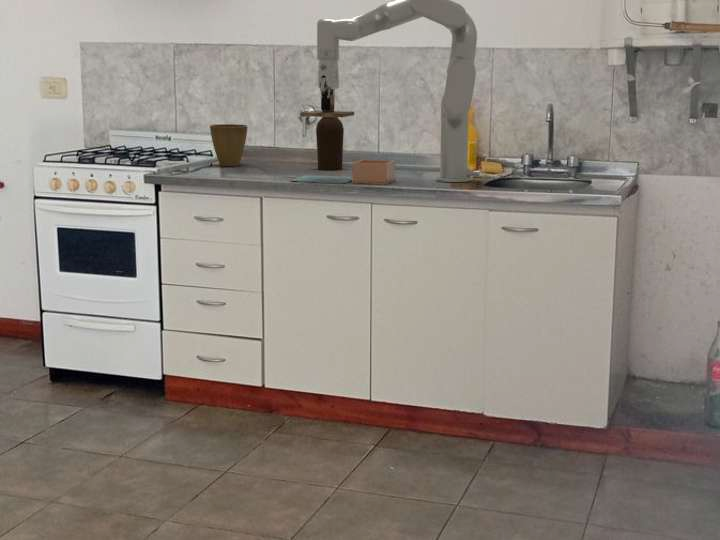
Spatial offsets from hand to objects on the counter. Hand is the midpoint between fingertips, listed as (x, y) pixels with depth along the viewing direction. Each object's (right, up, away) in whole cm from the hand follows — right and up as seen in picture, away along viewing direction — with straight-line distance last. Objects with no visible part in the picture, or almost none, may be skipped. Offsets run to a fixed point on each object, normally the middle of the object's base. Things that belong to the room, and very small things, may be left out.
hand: (327, 109), depth 365 cm
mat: (-1, -24, +5) cm, 25 cm away
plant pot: (-41, -15, +53) cm, 69 cm away
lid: (0, -2, 0) cm, 2 cm away
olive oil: (0, -17, +41) cm, 45 cm away
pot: (+16, -25, 0) cm, 30 cm away
